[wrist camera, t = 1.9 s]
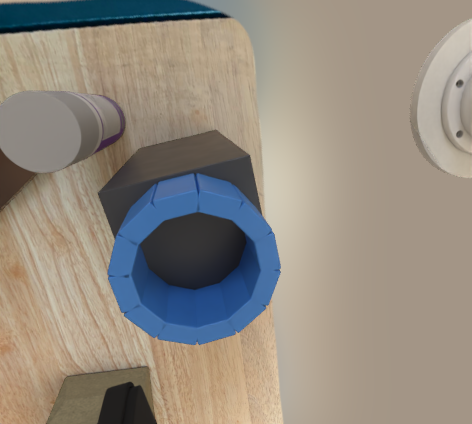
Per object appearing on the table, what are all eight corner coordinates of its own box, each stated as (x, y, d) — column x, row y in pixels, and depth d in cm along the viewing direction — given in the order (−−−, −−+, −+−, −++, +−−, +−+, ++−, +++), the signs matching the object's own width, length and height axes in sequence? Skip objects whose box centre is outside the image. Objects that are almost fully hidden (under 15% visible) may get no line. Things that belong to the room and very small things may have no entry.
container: (84, 149, 33) (12, 184, 19) (67, 100, 32) (-26, 98, 18) (131, 139, 34) (95, 165, 19) (117, 90, 32) (65, 79, 18)
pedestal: (216, 129, 35) (249, 154, 18) (233, 202, 37) (276, 284, 20) (139, 148, 34) (97, 192, 17) (162, 220, 37) (145, 321, 20)
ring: (195, 143, 17) (198, 154, 14) (288, 240, 20) (311, 269, 16) (92, 244, 18) (70, 278, 14) (194, 325, 20) (196, 370, 17)
